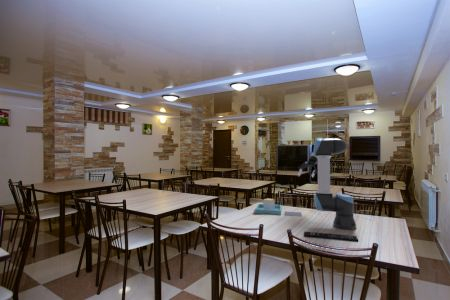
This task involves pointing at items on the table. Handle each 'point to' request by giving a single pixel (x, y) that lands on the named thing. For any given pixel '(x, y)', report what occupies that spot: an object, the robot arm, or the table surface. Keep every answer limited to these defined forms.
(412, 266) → the table surface
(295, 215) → the dock mat
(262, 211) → the tray
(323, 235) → the black keyboard
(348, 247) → the table surface
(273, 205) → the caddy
